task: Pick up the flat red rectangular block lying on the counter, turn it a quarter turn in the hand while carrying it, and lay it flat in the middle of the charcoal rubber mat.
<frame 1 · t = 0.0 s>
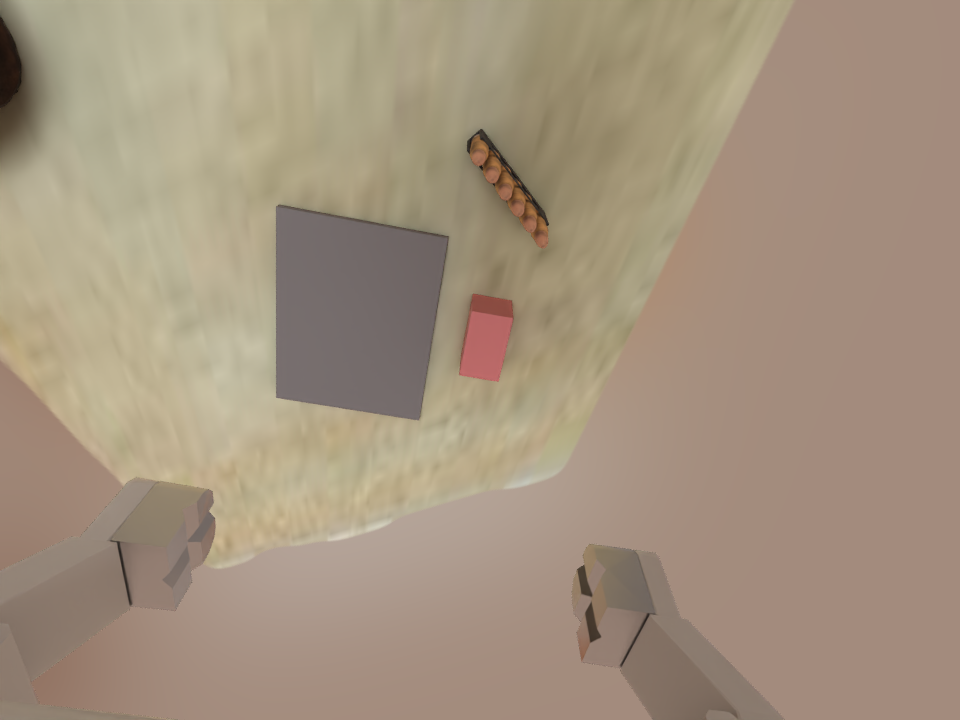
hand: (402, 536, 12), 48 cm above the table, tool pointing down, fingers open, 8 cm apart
ammunition clip: (507, 178, 54), on the table
mat: (356, 321, 62), on the table
red rectangular block: (485, 327, 62), on the table
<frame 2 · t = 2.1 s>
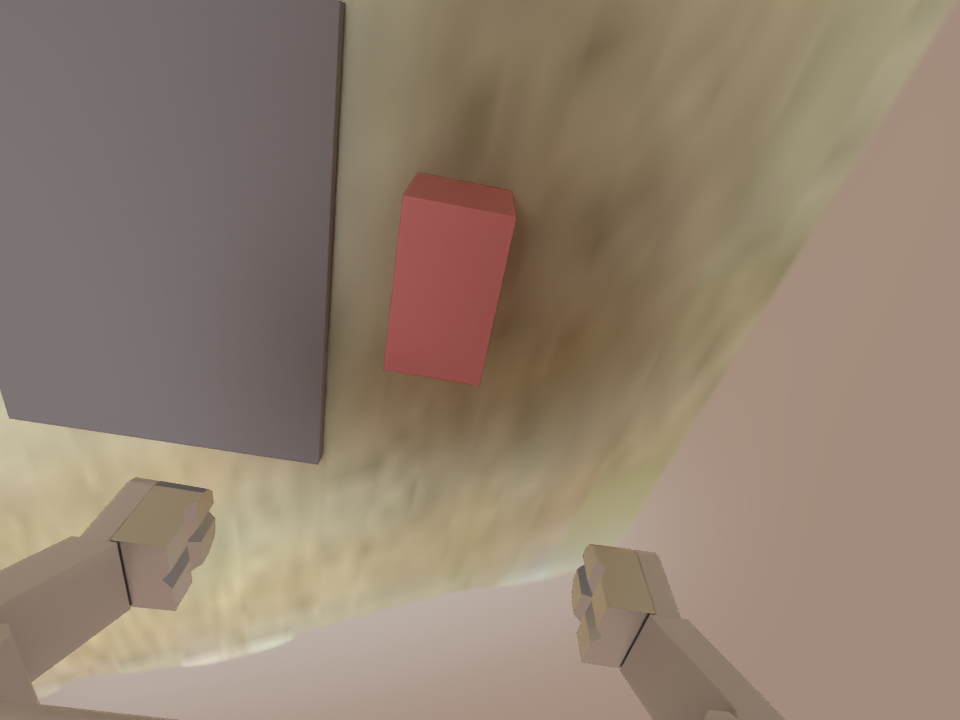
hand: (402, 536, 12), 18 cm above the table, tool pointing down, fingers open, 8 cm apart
mat: (150, 245, 27), on the table
red rectangular block: (451, 261, 27), on the table
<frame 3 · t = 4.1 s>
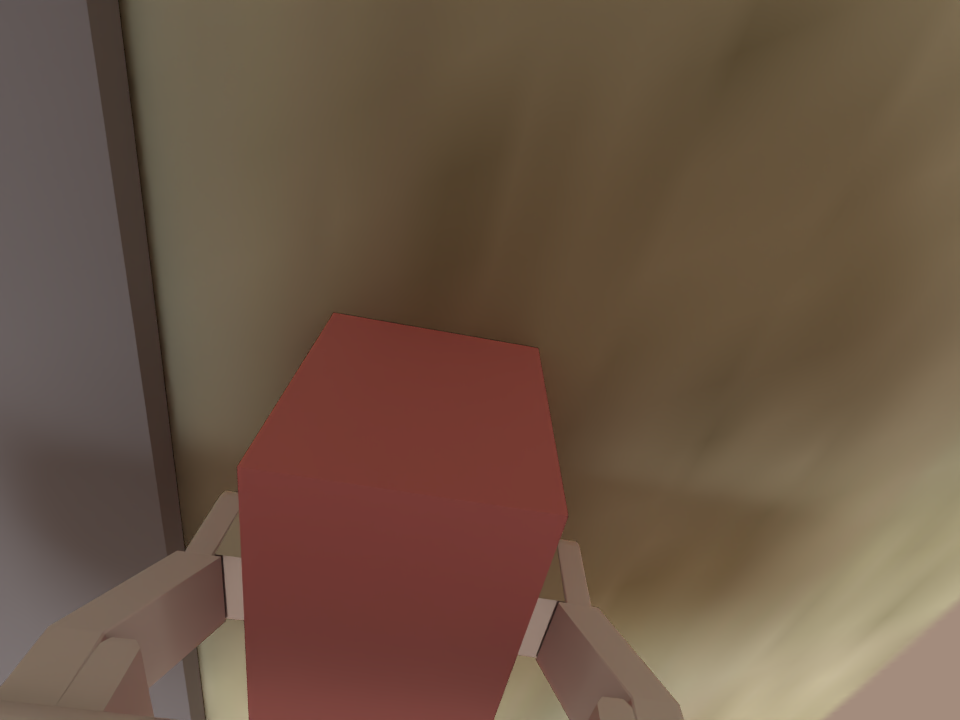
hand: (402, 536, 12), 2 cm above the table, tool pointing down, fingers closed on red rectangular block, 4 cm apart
red rectangular block: (414, 470, 13), on the table, touching gripper
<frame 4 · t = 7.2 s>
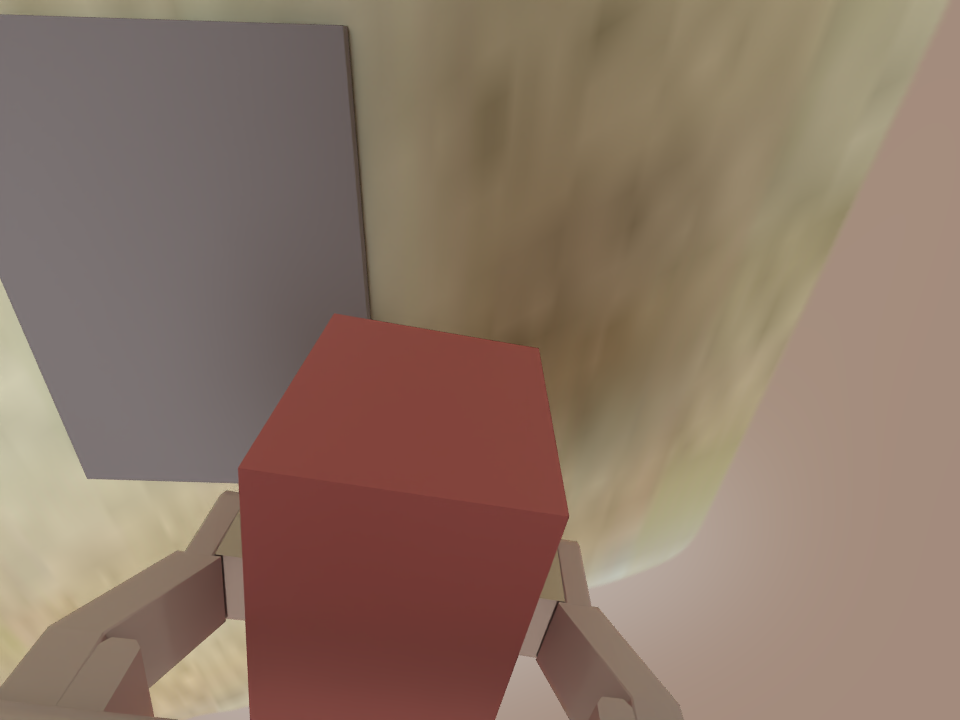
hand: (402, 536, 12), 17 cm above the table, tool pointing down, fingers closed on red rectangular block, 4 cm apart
mat: (194, 295, 27), on the table
red rectangular block: (415, 470, 13), point 15 cm above the table, touching gripper
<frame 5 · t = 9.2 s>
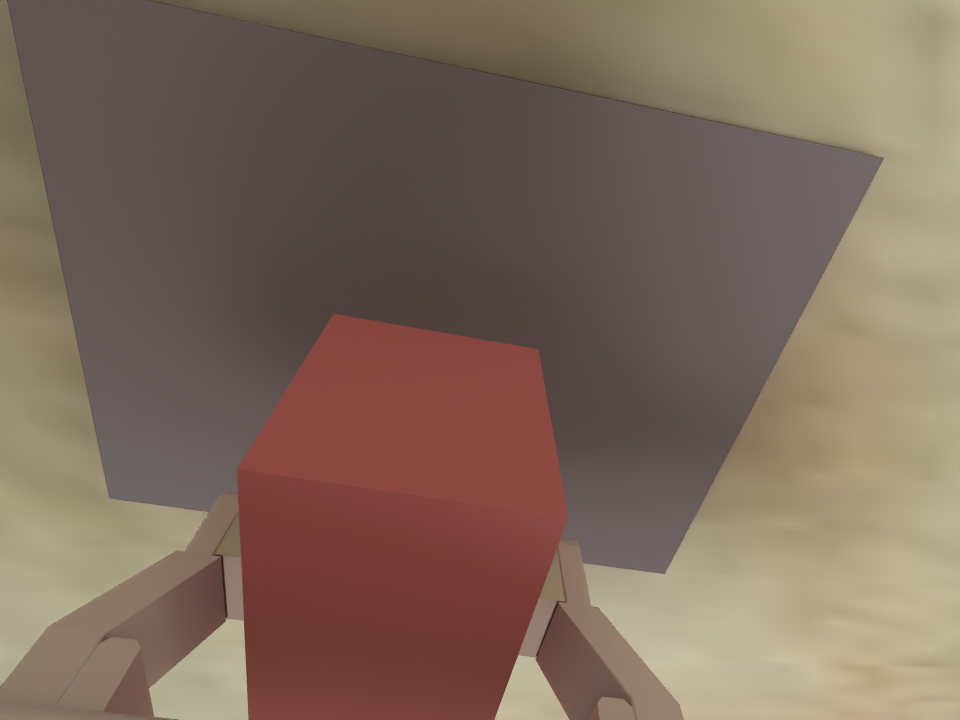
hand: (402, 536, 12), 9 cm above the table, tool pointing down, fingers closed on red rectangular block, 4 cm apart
mat: (429, 347, 19), on the table
red rectangular block: (414, 471, 13), point 7 cm above the table, touching gripper
when the fingers open (4 cm above the table, at t = 10.6 s): red rectangular block stays where it is, resting on mat.
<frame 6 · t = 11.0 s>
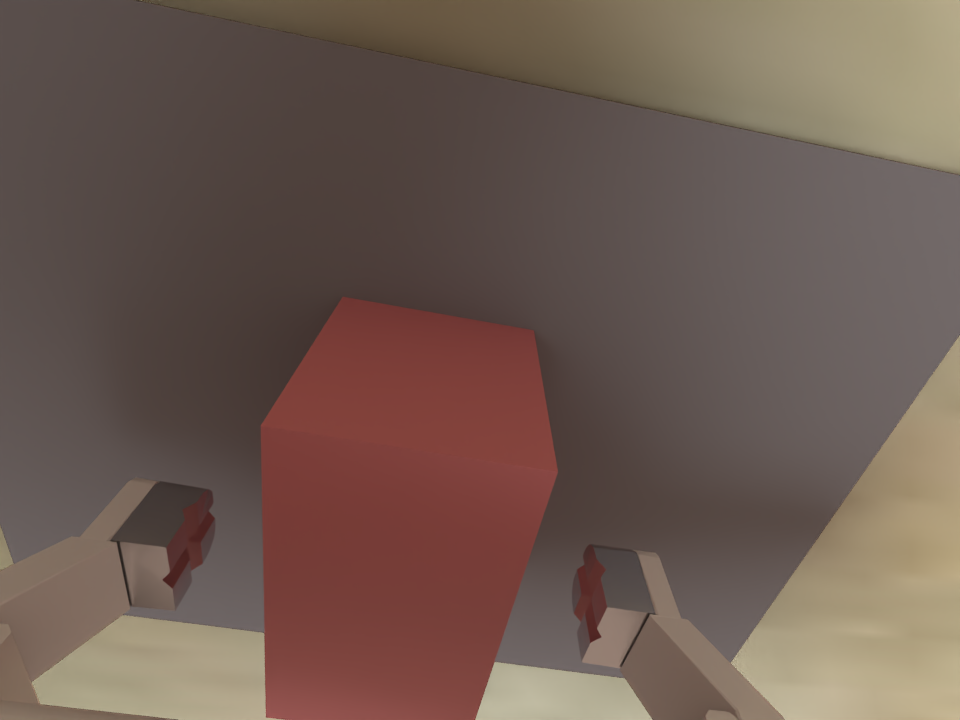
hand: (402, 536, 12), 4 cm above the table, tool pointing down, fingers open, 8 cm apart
mat: (423, 429, 15), on the table
red rectangular block: (417, 447, 14), point 1 cm above the table, touching mat
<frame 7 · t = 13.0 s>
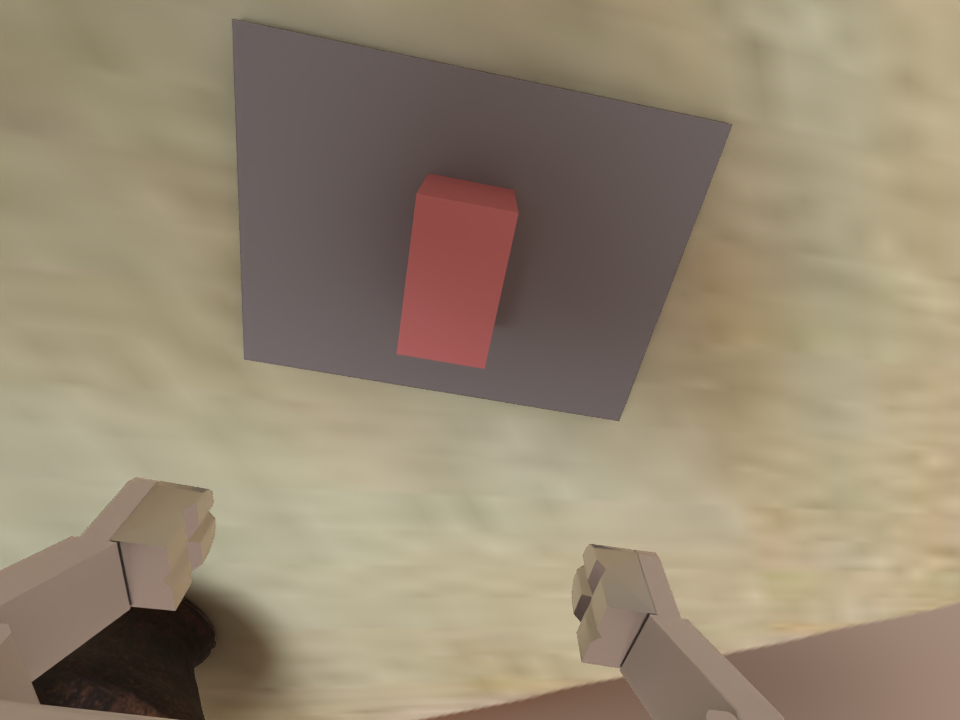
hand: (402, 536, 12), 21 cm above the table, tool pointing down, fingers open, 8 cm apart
mat: (460, 251, 30), on the table
jug: (153, 612, 46), on the table
red rectangular block: (458, 255, 29), point 1 cm above the table, touching mat
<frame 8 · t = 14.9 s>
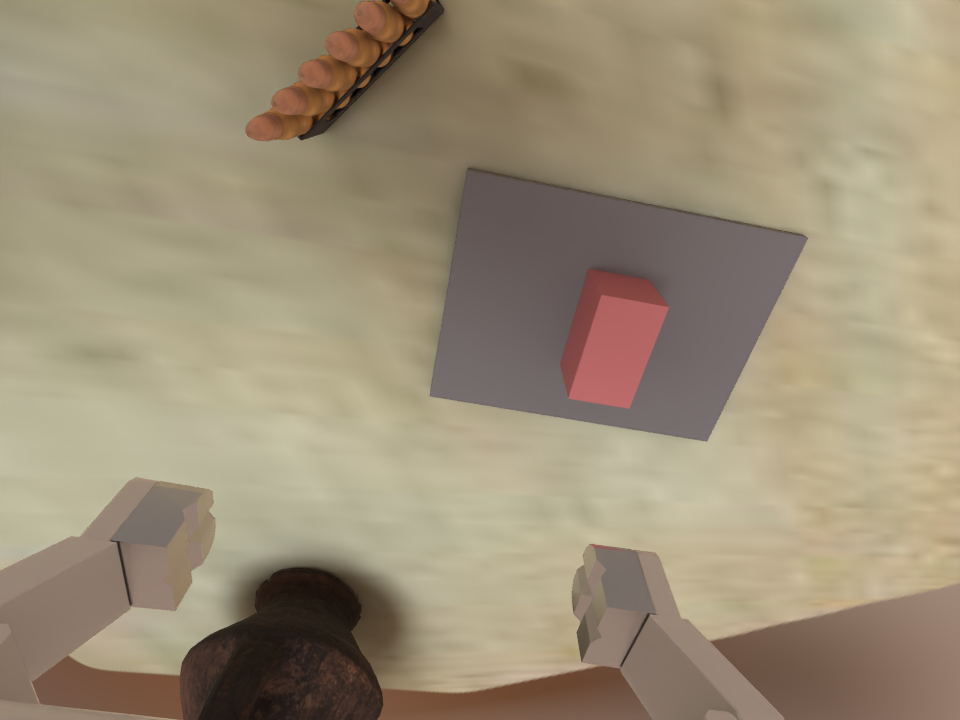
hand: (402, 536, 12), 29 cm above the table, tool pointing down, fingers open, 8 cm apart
ammunition clip: (370, 62, 33), on the table
mat: (600, 319, 41), on the table
jug: (311, 592, 57), on the table
red rectangular block: (602, 323, 40), point 1 cm above the table, touching mat
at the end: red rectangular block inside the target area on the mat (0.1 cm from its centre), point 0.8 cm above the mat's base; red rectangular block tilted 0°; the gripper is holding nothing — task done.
